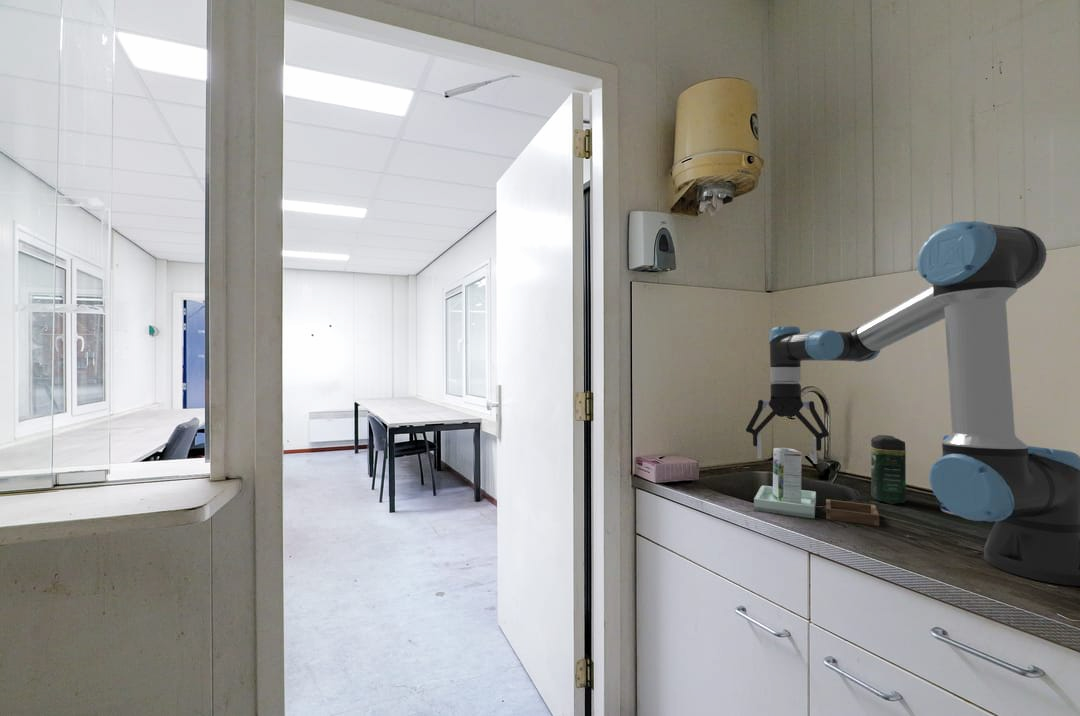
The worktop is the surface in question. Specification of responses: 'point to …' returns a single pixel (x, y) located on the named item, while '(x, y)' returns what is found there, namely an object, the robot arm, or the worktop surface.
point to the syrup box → (787, 475)
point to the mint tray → (785, 503)
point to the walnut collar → (852, 512)
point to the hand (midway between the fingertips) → (786, 460)
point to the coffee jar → (888, 469)
